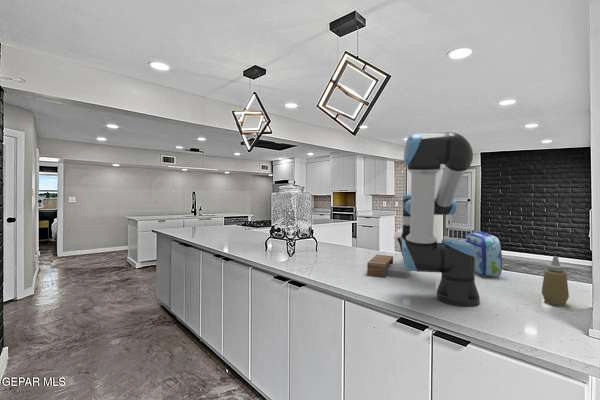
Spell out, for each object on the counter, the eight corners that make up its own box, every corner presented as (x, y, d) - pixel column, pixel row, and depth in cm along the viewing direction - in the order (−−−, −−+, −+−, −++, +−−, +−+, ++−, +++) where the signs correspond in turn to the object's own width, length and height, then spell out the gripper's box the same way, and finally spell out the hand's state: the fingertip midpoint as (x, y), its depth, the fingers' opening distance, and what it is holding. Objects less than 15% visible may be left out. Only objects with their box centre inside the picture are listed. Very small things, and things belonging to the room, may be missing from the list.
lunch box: (463, 266, 179) (463, 229, 178) (483, 267, 177) (484, 229, 176) (479, 278, 153) (480, 235, 153) (503, 279, 151) (504, 236, 151)
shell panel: (406, 279, 154) (406, 271, 154) (381, 276, 160) (381, 269, 160) (410, 272, 168) (410, 265, 168) (387, 269, 173) (387, 263, 173)
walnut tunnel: (385, 277, 155) (385, 264, 155) (367, 275, 159) (367, 262, 159) (393, 267, 175) (393, 255, 175) (376, 266, 179) (376, 254, 179)
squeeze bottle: (539, 303, 119) (540, 256, 119) (543, 298, 125) (544, 253, 124) (567, 309, 113) (568, 259, 113) (570, 303, 119) (571, 256, 118)
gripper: (424, 224, 161) (424, 270, 161) (398, 223, 166) (398, 267, 167) (423, 226, 154) (422, 273, 155) (395, 224, 160) (395, 271, 160)
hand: (410, 270), depth 161 cm, fingers closed
